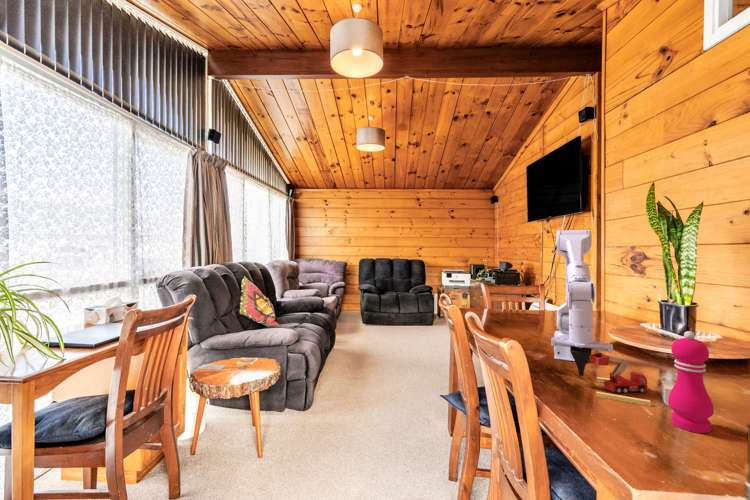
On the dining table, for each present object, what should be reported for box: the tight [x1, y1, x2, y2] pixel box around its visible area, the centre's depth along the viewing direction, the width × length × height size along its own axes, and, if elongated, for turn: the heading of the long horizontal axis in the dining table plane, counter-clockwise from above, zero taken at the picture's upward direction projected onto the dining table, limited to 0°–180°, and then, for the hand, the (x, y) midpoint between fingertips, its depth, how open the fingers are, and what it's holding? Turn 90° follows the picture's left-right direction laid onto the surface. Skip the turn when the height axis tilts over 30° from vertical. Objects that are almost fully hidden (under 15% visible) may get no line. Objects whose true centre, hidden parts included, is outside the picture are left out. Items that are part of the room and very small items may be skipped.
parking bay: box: [595, 376, 675, 407], centre depth 93 cm, size 16×13×4 cm
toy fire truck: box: [589, 352, 649, 394], centre depth 95 cm, size 3×14×10 cm, turn 92°
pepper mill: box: [668, 330, 715, 434], centre depth 76 cm, size 7×7×20 cm
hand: (581, 374), depth 99 cm, fingers closed
